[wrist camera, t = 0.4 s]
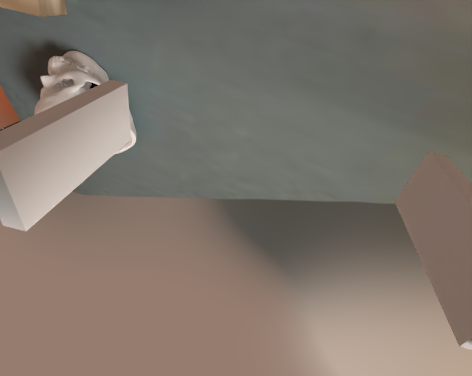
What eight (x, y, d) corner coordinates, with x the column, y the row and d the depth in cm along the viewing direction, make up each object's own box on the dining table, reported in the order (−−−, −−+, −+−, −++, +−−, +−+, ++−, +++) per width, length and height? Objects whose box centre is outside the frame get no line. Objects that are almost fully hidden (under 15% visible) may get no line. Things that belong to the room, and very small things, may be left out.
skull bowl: (75, 20, 36) (57, 89, 30) (153, 89, 47) (151, 149, 42) (28, 59, 40) (5, 126, 34) (110, 114, 51) (103, 171, 46)
